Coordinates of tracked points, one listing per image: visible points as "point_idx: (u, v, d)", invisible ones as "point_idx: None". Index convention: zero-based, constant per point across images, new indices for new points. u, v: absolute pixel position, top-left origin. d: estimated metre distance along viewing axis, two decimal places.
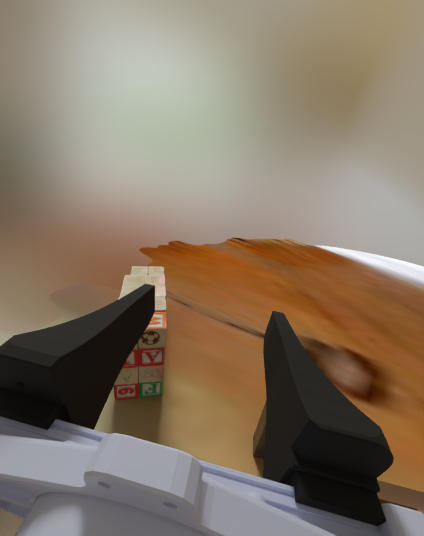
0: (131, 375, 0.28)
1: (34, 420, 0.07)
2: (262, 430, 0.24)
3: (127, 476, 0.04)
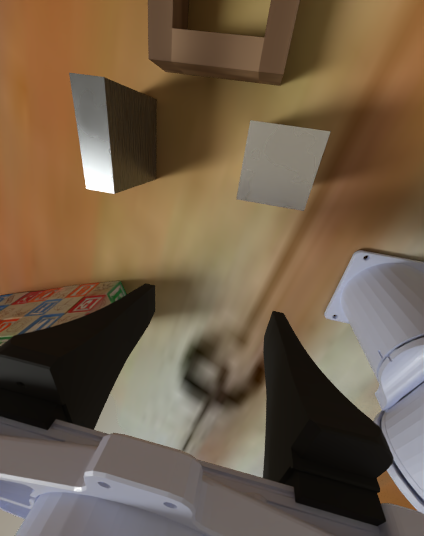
0: None
1: (34, 420, 0.07)
2: None
3: (127, 476, 0.04)
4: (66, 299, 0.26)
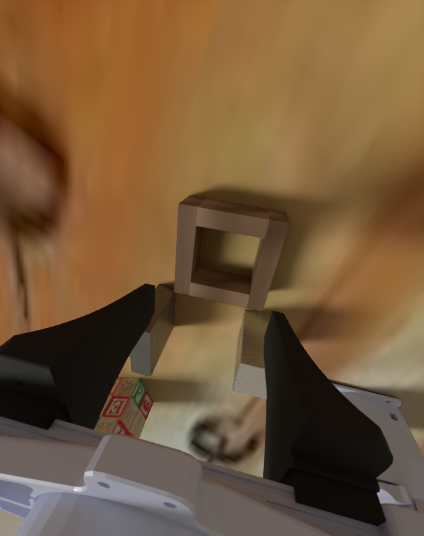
0: (135, 423, 0.33)
1: (34, 420, 0.07)
2: None
3: (127, 476, 0.04)
4: None
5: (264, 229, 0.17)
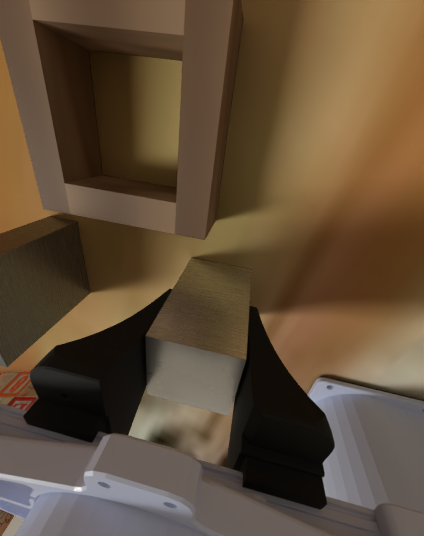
0: None
1: (34, 420, 0.07)
2: None
3: (127, 476, 0.04)
4: None
5: (179, 3, 0.07)
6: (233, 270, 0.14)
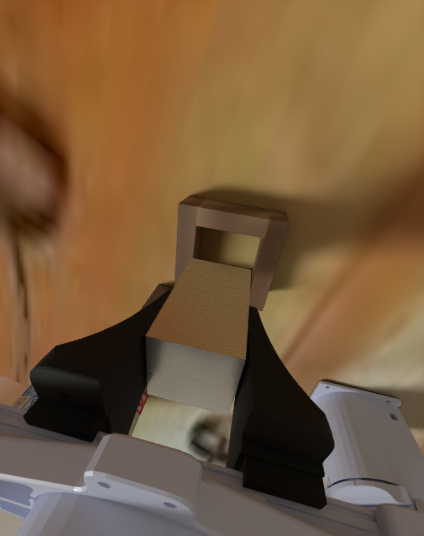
0: None
1: (34, 420, 0.07)
2: None
3: (127, 476, 0.04)
4: None
5: (264, 229, 0.17)
6: (233, 271, 0.14)
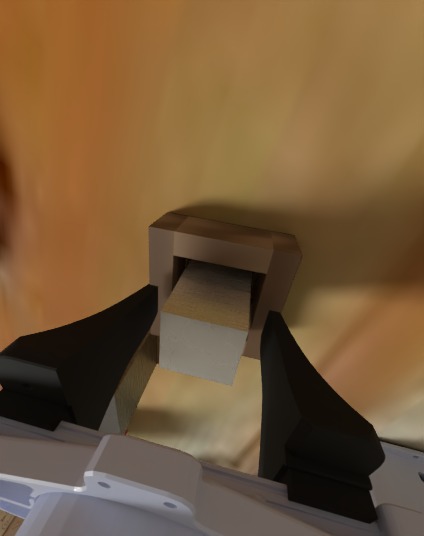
0: None
1: (34, 420, 0.07)
2: None
3: (127, 476, 0.04)
4: None
5: (266, 262, 0.12)
6: None
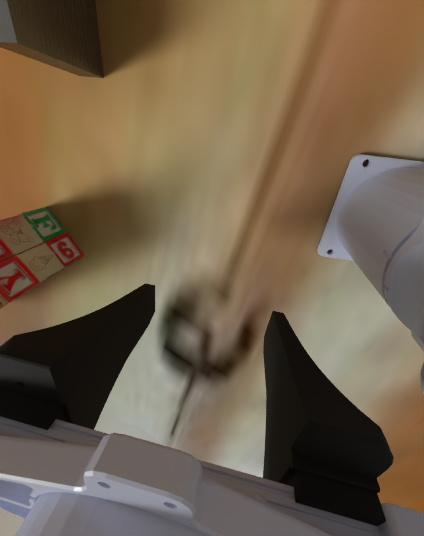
0: (36, 256, 0.21)
1: (34, 420, 0.07)
2: (50, 56, 0.13)
3: (127, 476, 0.04)
4: None
5: None
6: None
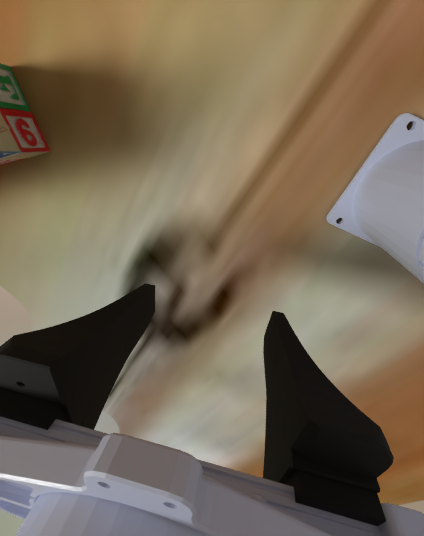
0: None
1: (34, 420, 0.07)
2: None
3: (127, 476, 0.04)
4: None
5: None
6: None
